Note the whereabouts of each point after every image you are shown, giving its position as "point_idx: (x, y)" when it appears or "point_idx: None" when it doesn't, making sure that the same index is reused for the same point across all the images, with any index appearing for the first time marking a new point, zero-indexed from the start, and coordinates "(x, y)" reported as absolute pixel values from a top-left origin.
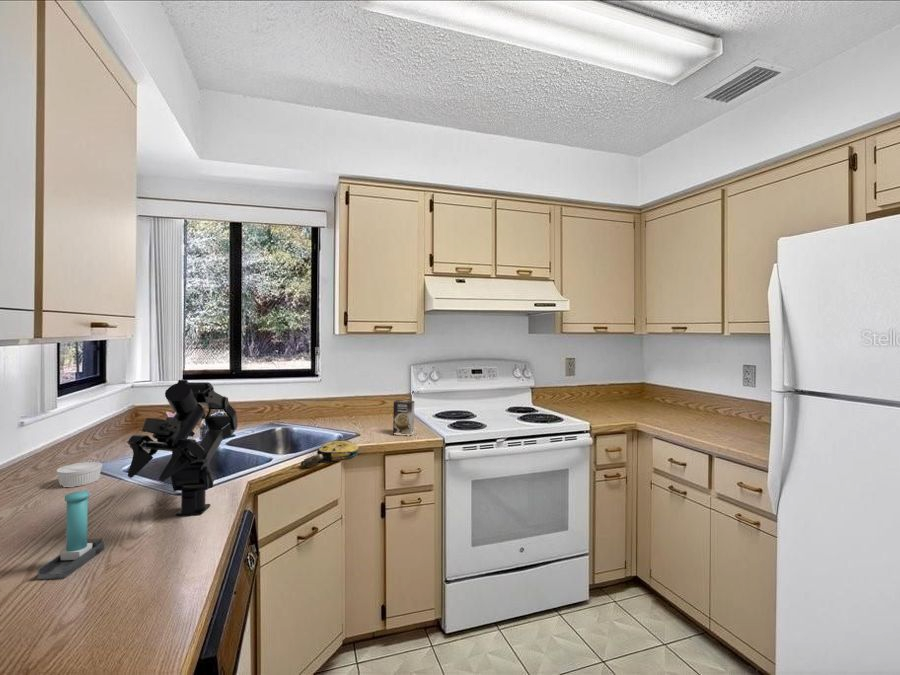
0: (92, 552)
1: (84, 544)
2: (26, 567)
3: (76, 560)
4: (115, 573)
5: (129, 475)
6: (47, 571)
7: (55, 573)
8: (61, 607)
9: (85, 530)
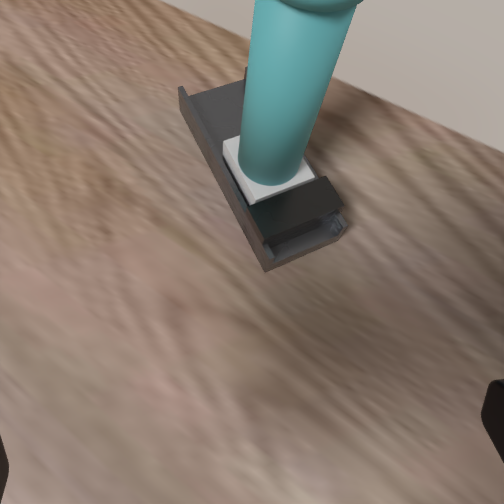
0: (235, 204)
1: (240, 156)
2: (357, 121)
3: (200, 130)
4: (51, 169)
5: (496, 391)
6: (240, 93)
7: (204, 92)
8: (37, 27)
9: (246, 124)
